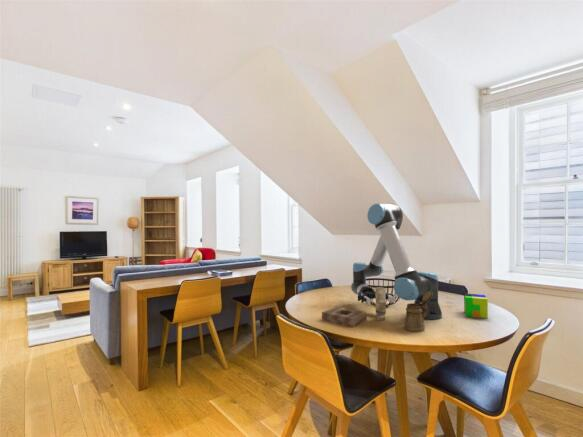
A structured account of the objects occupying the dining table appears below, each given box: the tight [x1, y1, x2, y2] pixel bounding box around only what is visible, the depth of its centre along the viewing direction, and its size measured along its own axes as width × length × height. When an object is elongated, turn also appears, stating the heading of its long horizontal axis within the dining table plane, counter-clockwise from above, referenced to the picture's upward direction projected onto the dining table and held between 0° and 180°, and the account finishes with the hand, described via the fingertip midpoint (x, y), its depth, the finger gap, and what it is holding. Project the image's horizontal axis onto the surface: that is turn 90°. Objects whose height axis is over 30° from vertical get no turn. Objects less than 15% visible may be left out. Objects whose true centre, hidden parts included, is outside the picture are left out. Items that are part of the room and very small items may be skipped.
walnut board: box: [321, 306, 368, 328], centre depth 162 cm, size 18×14×4 cm
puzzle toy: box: [463, 293, 489, 319], centre depth 171 cm, size 10×10×10 cm
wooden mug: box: [403, 290, 433, 333], centre depth 149 cm, size 9×14×18 cm, turn 91°
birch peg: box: [375, 287, 387, 322], centre depth 163 cm, size 5×5×16 cm
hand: (382, 301), depth 161 cm, fingers open, 13 cm apart
